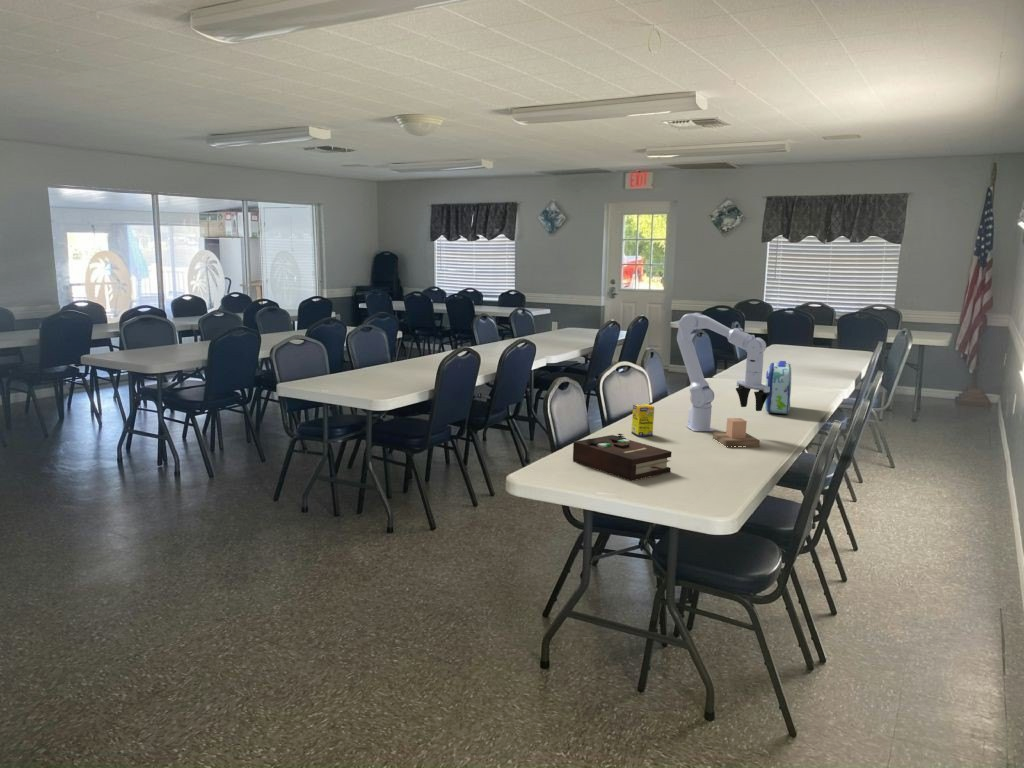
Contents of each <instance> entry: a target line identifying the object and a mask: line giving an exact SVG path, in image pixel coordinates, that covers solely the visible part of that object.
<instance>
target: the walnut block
mask: <svg viewBox="0 0 1024 768" xmlns="http://www.w3.org/2000/svg"><path fill="white" fill-rule="evenodd" d="M712 432H713V433H712V440H713V439H715V440H717V441H718V442H720V443H721V444H723V445H724V446H726V447H727V446H728V447H727V448H739V447H738V446H742V447H741V448H744V447H743V446H746V447H745V448H760V442H761V441H760V439H758V438H756V437H754V436H752V435H750V434H749V433H747V432H746V436H745V438H731V437H729V436H727V435H726V432H714V431H712ZM715 440H714V441H715ZM718 442H717V443H718ZM720 443H719V444H720ZM721 444H720V445H721ZM723 445H722V446H723ZM724 446H723V447H724ZM731 446H732V447H731ZM734 446H736V447H734ZM726 447H725V448H726Z"/></svg>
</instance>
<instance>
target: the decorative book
mask: <svg viewBox="0 0 1024 768" xmlns="http://www.w3.org/2000/svg"><path fill="white" fill-rule="evenodd" d="M572 445H573V446H572V462H574V463H577V464H580V465H583V466H587V467H589V468H592V469H594V468H595V470H597V469H598V471H600V470H601V472H603V471H604V472H603V473H606V472H607V474H609V473H610V475H612V474H613V476H615V475H616V477H618V476H619V478H621V477H622V479H624V478H625V479H624V480H627V479H628V481H630V480H631V481H630V482H632V480H633V481H637V480H636V479H638V480H642V479H646V478H650V477H649V476H651V477H654V476H659V475H664V474H668V473H671V470H672V469H671V468H672V467H669V466H668V465H667V464H668V463H669V462H671V460H670V459H668V458H672V451H670V450H667V449H663V448H660V447H656V446H652V445H649V444H646V443H642V442H638V441H634V440H631V439H628V438H626V437H625V435H624V434H623V433H616V435H614V434H611V435H604V436H600V437H599V436H598V437H593V438H588V439H586V438H585V439H581V440H576V441H573V442H572ZM663 473H664V474H663ZM645 477H646V478H645ZM641 478H642V479H641Z"/></svg>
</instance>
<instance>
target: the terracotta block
mask: <svg viewBox="0 0 1024 768" xmlns="http://www.w3.org/2000/svg"><path fill="white" fill-rule="evenodd" d="M747 423H748V421H747V420H745V419H744V418H742V417H739V418H738V417H737V418H736V417H728V418H727V419H726V435H727V436H729V437H731V438H745V436H746V433H747Z"/></svg>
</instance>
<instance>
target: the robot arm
mask: <svg viewBox="0 0 1024 768" xmlns="http://www.w3.org/2000/svg"><path fill="white" fill-rule="evenodd" d="M677 324H678V329H677V334H676V341H677V344H678V348H679V351H680V354H681V357H682V360H683V363H684V367H685V370H686V372H687V376H688V379H689V382H690V386H689V393H690V398H689V399H690V402H691V406H690V407H689V409H688V419H687V424H685V427H686V428H688V429H689V430H691V431H692V432H714V431H715V430H714V429H713V428H712V427H711V422H712V408H713V407H712V406H713V405H712V402H713V401H714V400H715V392H714V390H713V389H712V388H711V387H710V384H709V382H708V381H707V380H706V379H705V375H704V374H703V371H702V367H701V364H700V361H699V358H698V355H697V351H696V349H695V345H694V343H693V339H694V337H695V336H696V334H697V332H698V331H700V330H701V329H703V330H704V329H705V330H706V329H707V330H710V331H713V332H714V333H717V334H718V335H721V336H723V337H725V338H727V342H728V343H730V344H731V345H734V346H736V347H738V348H739V349H742V350H745V352H746V363H745V376H744V380H737V381H736V386H737V387H736V388H735V391H736V393H737V396H738V397H739V398H738V399H739V403H740V407H741V408H746V407H747V405H748V400H749V394H750V392H751V390H755V391H753V394H754V397H755V398H754V399H755V411H756V412H761V411H763V408H764V406H765V400H766V399H767V397H768V396H769V394H770V387H768V386H766V384H763V383H762V380H763V368H764V366H763V365H764V352H765V351H766V349H767V343H766V341H765V340H764V339H762V338H761V337H755V334H749V332H748V333H747V332H746V331H744V328H741V327H740V328H738V327H735V328H733V329H732V328H730V327H728V326H726V325H724V324H722V323H720V321H719V322H718V321H717V320H715V319H713V318H712V317H709V316H707V315H704V314H703V313H700V312H694V313H686V314H684V315H682V317H681V318H680V319H679V321H678V323H677Z"/></svg>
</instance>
